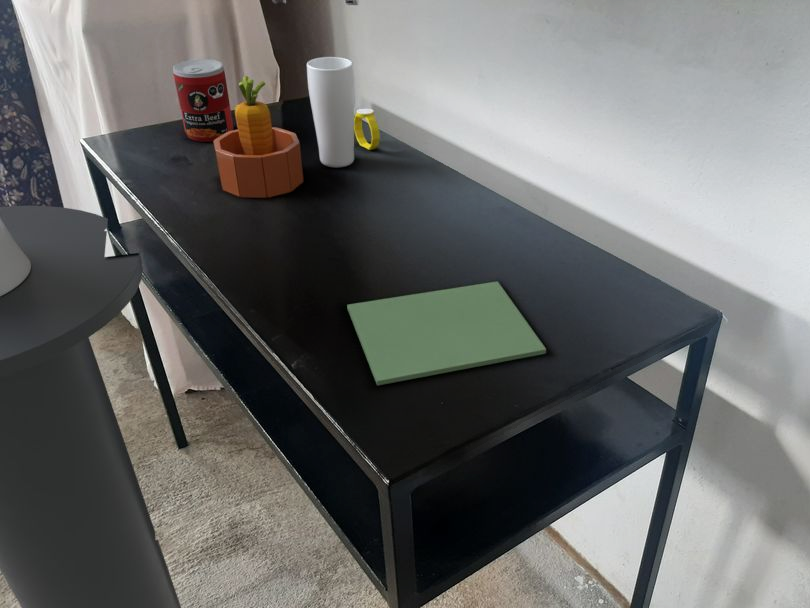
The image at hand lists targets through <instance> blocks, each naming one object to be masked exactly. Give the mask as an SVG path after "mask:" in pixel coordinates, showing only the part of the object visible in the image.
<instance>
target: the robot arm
mask: <svg viewBox="0 0 810 608" xmlns="http://www.w3.org/2000/svg"><path fill="white" fill-rule="evenodd" d="M271 2H272V3H273V4H278V5H279V4H282V5H283V4H284V5H285V4H287V0H271ZM359 2H360V1H359V0H345V4H346V6H359V4H360V3H359ZM30 270H31V262H30V260H29V258H28V257H27V256H26V255H25V254H24V253H23V251H22V250H21V249H20V247H19V246H18V245H17V243H16V242H15V240H14V239H13V238H12V236H11V234H10V233H9V231H8V229H7V228H6V226H5V224H4V223H3V221H2V219H1V217H0V296H2V295H4V294H6V293H8V292H9V291H11V290H13V289H14V288H15V287H17V286H18V285H19V284H21V283H22V282H23V281H24V280H25V279H26V277H27V276H28V274H29V273H30Z"/></svg>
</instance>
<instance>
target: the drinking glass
mask: <svg viewBox="0 0 810 608" xmlns="http://www.w3.org/2000/svg"><path fill="white" fill-rule="evenodd" d="M306 62H307V63H306V76H307V77H306V78H307V88H308V94H309V101H310V102H309V103H310V108H311V112H312V119H313V123H314V124H313V125H314V129H315V130H314V131H315V136H316V141H317V147H318V155H319V161H320V163H321V164H322V165H323V166H325V167H328V168H336V169H337V168H338V169H339V168H345V167H348V166H350V165H352V164H353V163H354V161H355V132H354V131H355V130H354V119H355V115H356V110H355V109H356V81H355V70H354V69H355V68H354V63H353V62H352V60H351V59H347V58H344V57H338V56H323V57H322V56H321V57H315V58H313V59H310V60H308V61H306Z"/></svg>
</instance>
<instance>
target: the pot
mask: <svg viewBox="0 0 810 608" xmlns="http://www.w3.org/2000/svg"><path fill="white" fill-rule="evenodd" d="M272 139H273V144H272V153H269V154H264V155H245V153H244V150H243V147H242V144H241V140H240V136H239V132H238V129H233V131H228V132H226V133H225V134H223V135H221V136H220V137H218V138H216V139H215V140H214V141H213V146H214V152H215V157H216V158H215V159H216V163H217V168H218V173H219V174H218V175H219V180H220V186H221V190H222V191H224V192H227V193H229V194H231V195H234V196H236V197H239V198H255V199H256V198H259V199H263V198H264V199H267V198H272V197H276V196H280V195H284V194H289V193H291V192H293V191H295V189H296V188H298V187H299V186H301V185H302V184H303V182H304V173H303V165H302V164H303V162H302V154H301V144H300V140H299V138H298V136H297V134H296V132H292V131H289V130H287V129H283V128H280V127H276V126H274V127H273V126H272Z"/></svg>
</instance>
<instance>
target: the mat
mask: <svg viewBox="0 0 810 608" xmlns="http://www.w3.org/2000/svg"><path fill="white" fill-rule="evenodd" d="M346 306H347V312H348V314H349V316H350V320H351V321H352V324H353V327H354V330H355V332H356V335H357V337H358V339H359V342H360V345H361V347H362V348H361V349H362V351H363V354H364V355H365V358H366V361H367V363H368V365H369V369H370V371H371V374H372V376H373V378H374V381H375V384H376V386H383V385H388V384H393V383H397V382H403V381H409V380H414V379H419V378H425V377H430V376H435V375H441V374H446V373H452V372H456V371H461V370H467V369H471V368H472V369H473V368H477V367H483V366H488V365H493V364H499V363H504V362H509V361H515V360H520V359H525V358H531V357H536V356H541V355H545V354H546V353H547V348H546V347H545V345H544V344H543V342H542V341H541V340H540V339H539V337H538V336H537V334H536V333H535V331H534V330H533V329H532V327H531V325H530V324H529V323H528V321H527V320H526V319H525V317H524V316H523V314H522V313H521V312H520V311H519V309H518V307H517V306H516V305H515V303H514V302H513V301H512V299H511V298H510V296H509V295H508V294H507V292H506V291H505V289H504V288H503V287H502V286H501V283H499V281H491V282H485V283H477V284H472V285H465V286H459V287H452V288H446V289H440V290H439V289H438V290H433V291H426V292H421V293H420V292H419V293H413V294H408V295H407V294H406V295H401V296H394V297H389V298H388V297H387V298H382V299H374V300H368V301H362V302H356V303H350V304H347V305H346Z"/></svg>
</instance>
